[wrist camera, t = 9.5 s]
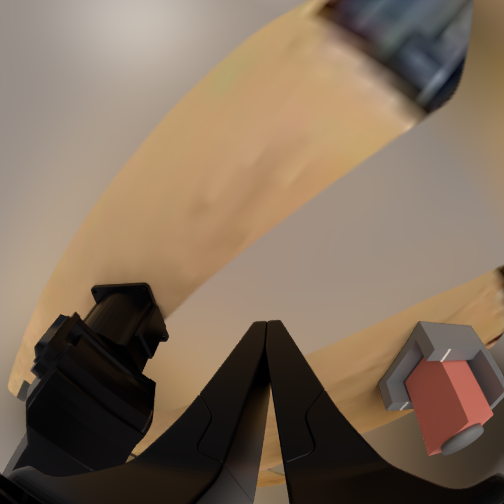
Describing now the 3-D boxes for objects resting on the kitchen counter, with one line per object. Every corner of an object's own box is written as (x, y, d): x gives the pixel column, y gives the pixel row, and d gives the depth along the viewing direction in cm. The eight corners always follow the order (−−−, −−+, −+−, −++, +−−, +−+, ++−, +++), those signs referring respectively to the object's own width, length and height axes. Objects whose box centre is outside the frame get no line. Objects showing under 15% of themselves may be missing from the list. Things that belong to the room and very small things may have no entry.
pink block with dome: (403, 382, 25) (428, 462, 16) (430, 344, 23) (470, 429, 13) (430, 381, 26) (457, 453, 16) (457, 345, 23) (497, 420, 13)
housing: (377, 383, 27) (397, 456, 18) (419, 320, 23) (460, 400, 14) (430, 382, 28) (453, 443, 19) (471, 325, 23) (510, 388, 14)
